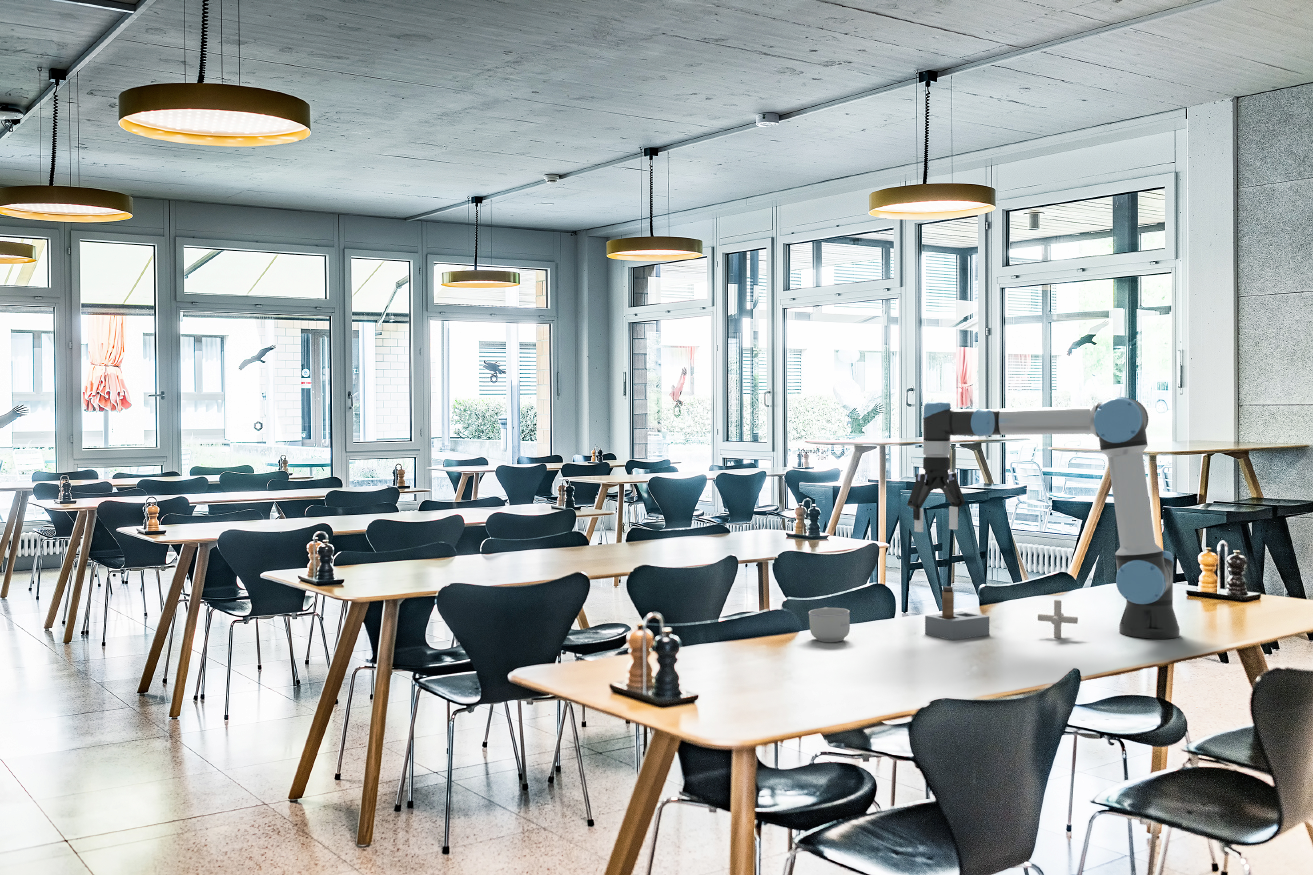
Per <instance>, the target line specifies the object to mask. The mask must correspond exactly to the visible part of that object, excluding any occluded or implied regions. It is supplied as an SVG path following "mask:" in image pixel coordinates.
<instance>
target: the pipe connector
mask: <svg viewBox="0 0 1313 875" xmlns="http://www.w3.org/2000/svg"><path fill="white" fill-rule="evenodd" d="M1053 605H1054V606H1053V607H1054V608H1053V614H1046V613H1045V614H1043V613H1042V614H1041V613H1038V614H1037V621H1039V622H1050V623H1051V624H1052V625H1053V638H1055V639H1061V638H1062V624H1063V623H1064V624H1073V625H1077V624H1078V622H1079V620H1078V619H1079V618H1078V616H1070V615H1069V616H1068V615H1064V613H1063V612H1062V600H1061V599H1054V600H1053Z"/></svg>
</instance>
